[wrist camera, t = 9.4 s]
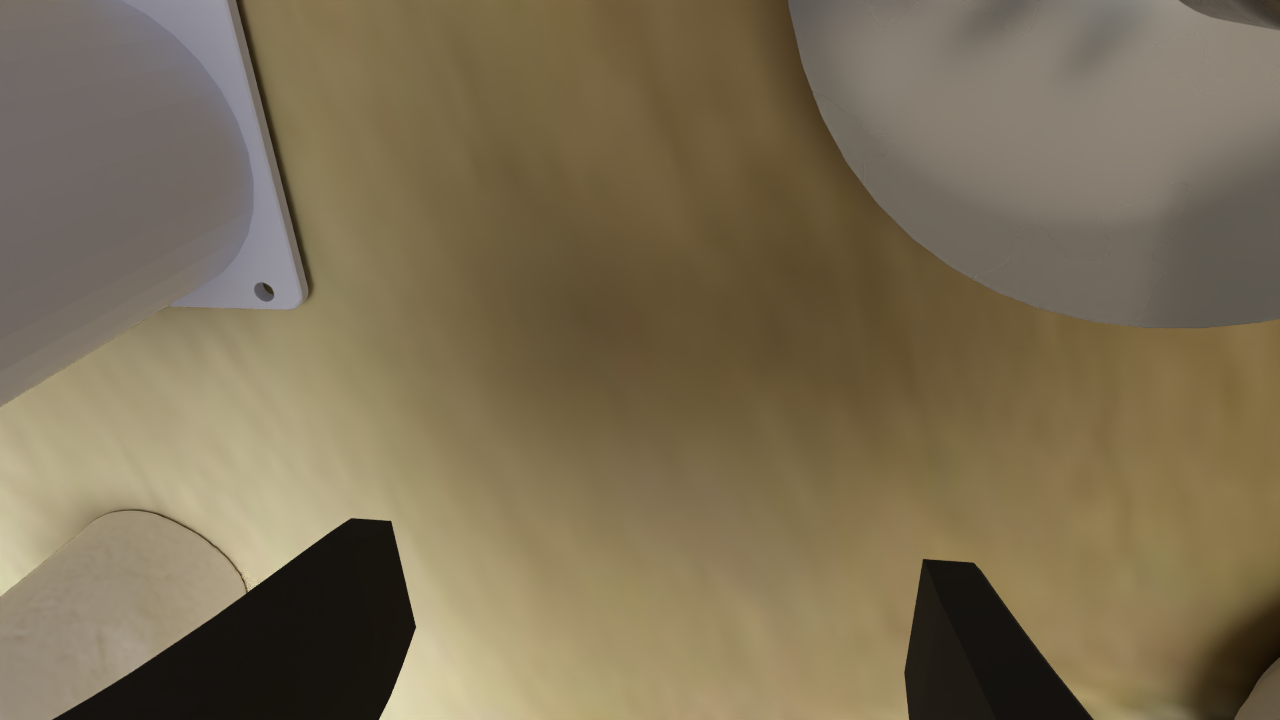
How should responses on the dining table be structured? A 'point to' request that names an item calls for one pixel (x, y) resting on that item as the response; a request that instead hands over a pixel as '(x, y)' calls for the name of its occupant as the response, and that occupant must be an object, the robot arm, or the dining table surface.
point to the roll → (105, 610)
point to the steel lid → (1068, 145)
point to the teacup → (1263, 697)
